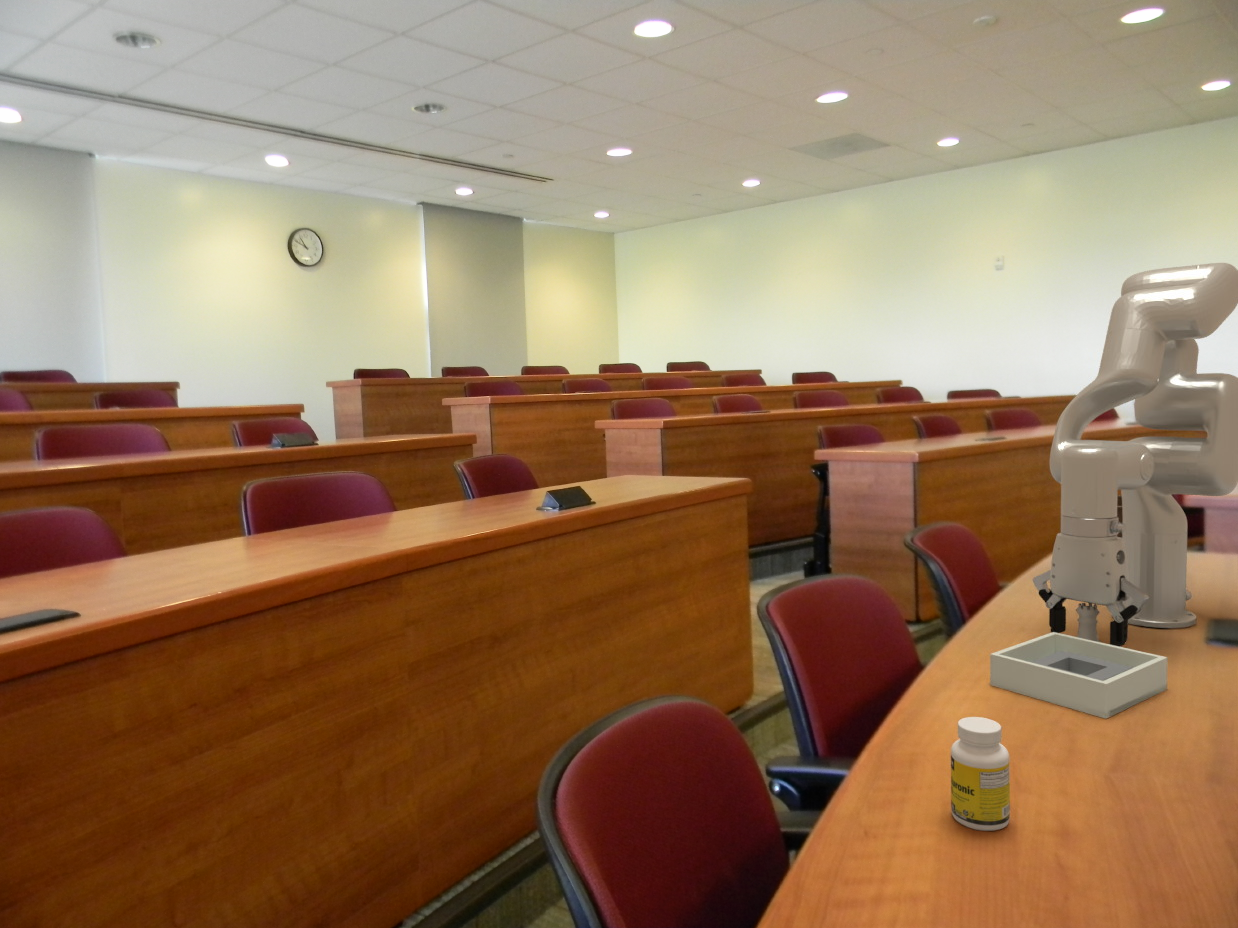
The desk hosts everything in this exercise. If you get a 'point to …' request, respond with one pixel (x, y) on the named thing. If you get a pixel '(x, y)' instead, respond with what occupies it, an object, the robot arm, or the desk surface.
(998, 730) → the supplement bottle
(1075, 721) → the desk surface
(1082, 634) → the rook chess piece
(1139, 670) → the box
